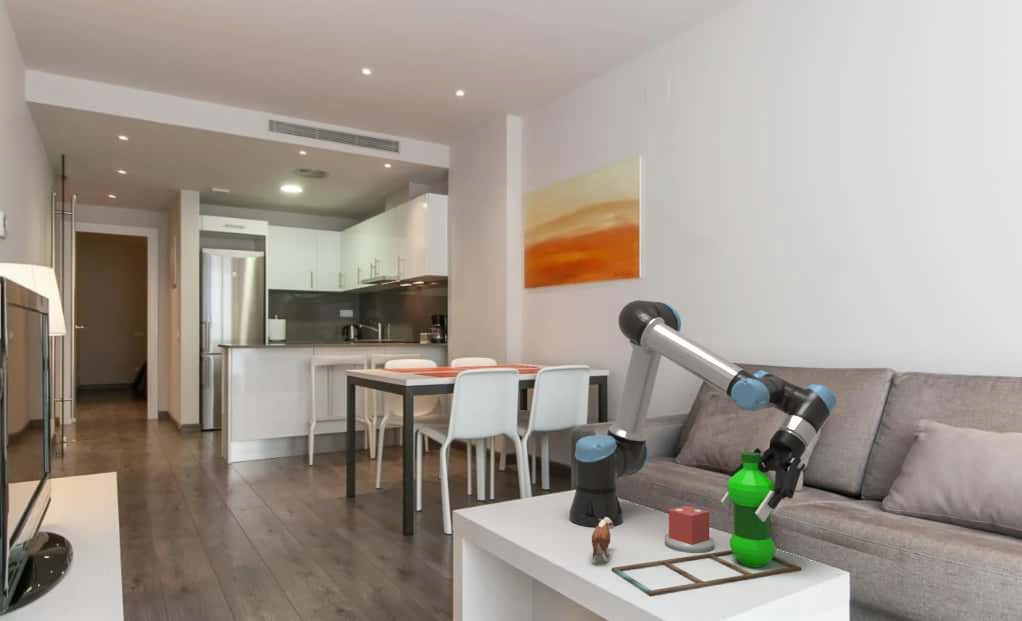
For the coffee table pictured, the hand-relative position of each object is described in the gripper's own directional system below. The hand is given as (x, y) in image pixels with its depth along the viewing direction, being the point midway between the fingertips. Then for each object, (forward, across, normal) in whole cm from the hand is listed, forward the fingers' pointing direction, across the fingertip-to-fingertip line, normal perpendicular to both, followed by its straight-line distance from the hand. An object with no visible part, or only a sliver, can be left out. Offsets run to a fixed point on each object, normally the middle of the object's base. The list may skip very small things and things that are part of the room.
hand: (741, 511), depth 143 cm
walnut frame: (+16, 0, -1) cm, 16 cm away
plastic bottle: (+7, 0, -11) cm, 13 cm away
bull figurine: (+28, +16, +11) cm, 34 cm away
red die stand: (+10, +16, -7) cm, 20 cm away
